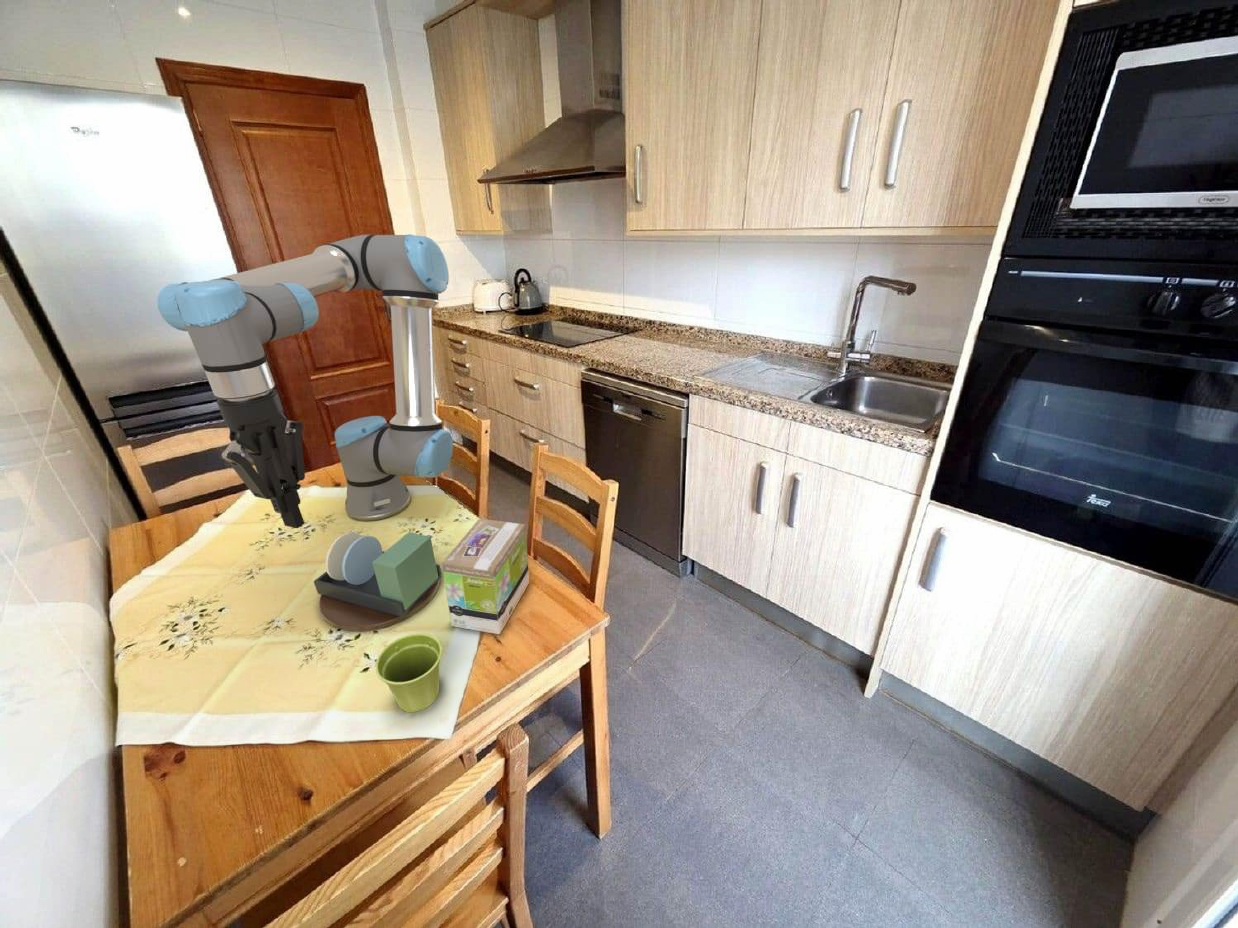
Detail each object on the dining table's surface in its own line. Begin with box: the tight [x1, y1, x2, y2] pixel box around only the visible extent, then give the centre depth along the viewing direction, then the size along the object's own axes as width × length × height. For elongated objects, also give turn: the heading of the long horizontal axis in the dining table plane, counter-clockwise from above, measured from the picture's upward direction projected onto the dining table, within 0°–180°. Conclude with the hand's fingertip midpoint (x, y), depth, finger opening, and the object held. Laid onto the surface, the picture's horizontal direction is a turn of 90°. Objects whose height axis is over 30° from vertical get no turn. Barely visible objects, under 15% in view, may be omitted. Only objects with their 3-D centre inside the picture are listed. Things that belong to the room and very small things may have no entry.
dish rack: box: [313, 531, 443, 617], centre depth 98 cm, size 20×12×11 cm, turn 72°
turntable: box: [318, 579, 441, 632], centre depth 101 cm, size 22×22×1 cm
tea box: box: [441, 517, 530, 635], centre depth 94 cm, size 15×10×15 cm, turn 168°
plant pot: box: [374, 633, 443, 713], centre depth 77 cm, size 9×9×9 cm
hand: (294, 524), depth 85 cm, fingers closed
